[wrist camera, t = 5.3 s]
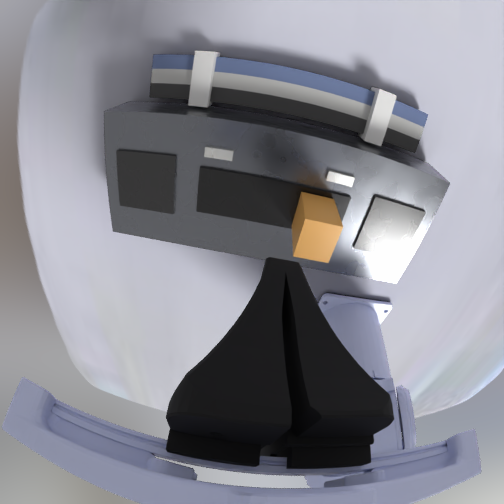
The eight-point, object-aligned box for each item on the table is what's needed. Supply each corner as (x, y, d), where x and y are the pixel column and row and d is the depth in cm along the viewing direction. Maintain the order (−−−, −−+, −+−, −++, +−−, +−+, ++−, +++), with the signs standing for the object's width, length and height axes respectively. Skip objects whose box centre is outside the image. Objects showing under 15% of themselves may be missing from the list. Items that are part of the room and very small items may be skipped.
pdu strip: (385, 255, 23) (396, 285, 20) (131, 207, 22) (111, 232, 19) (427, 163, 17) (451, 184, 14) (130, 101, 16) (102, 112, 13)
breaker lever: (322, 232, 17) (328, 263, 15) (291, 225, 17) (293, 256, 15) (333, 199, 16) (343, 227, 14) (301, 191, 16) (305, 218, 13)
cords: (408, 152, 17) (417, 159, 16) (155, 99, 16) (145, 103, 15) (422, 108, 15) (433, 112, 13) (160, 50, 14) (150, 50, 13)
